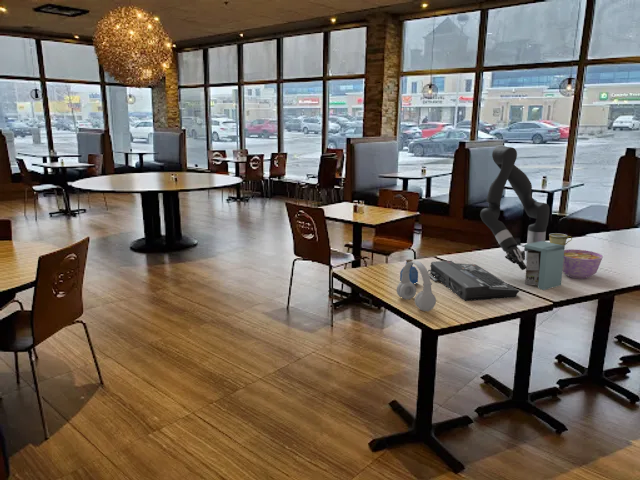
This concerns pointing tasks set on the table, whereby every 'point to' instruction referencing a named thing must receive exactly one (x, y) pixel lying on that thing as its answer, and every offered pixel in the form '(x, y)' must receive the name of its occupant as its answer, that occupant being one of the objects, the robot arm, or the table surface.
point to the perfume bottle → (411, 273)
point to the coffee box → (533, 267)
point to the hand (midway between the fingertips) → (524, 269)
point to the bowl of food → (581, 263)
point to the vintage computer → (471, 281)
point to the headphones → (408, 289)
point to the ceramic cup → (558, 238)
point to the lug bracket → (548, 263)
